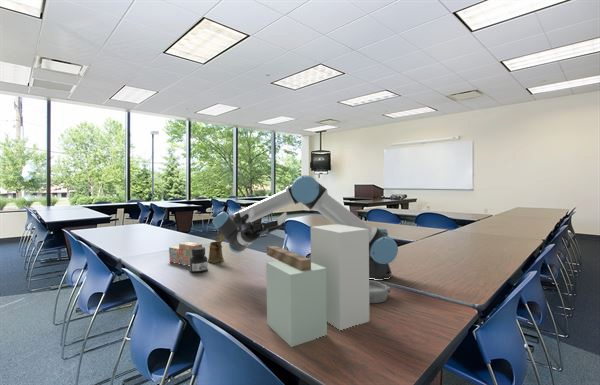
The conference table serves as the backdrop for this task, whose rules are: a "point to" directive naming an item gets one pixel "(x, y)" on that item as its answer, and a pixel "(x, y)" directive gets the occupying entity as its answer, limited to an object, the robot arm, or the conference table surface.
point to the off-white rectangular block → (343, 272)
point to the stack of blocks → (182, 252)
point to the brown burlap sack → (216, 250)
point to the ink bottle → (198, 260)
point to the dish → (378, 292)
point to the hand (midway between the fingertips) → (270, 213)
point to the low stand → (296, 302)
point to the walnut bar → (289, 258)
